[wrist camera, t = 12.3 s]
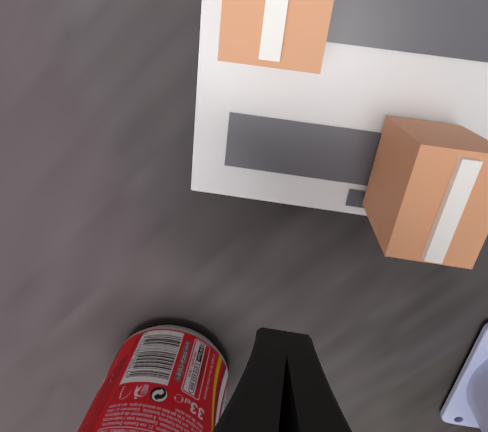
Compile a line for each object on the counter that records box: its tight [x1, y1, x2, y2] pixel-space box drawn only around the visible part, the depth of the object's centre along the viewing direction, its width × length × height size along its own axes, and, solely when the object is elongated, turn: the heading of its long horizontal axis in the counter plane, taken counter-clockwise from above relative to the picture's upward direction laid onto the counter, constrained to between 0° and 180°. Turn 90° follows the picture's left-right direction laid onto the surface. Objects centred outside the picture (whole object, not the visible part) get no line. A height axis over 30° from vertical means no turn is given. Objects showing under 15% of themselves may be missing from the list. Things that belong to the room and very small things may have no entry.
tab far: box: [362, 116, 488, 269], centre depth 14 cm, size 3×4×5 cm
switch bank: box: [191, 0, 488, 216], centre depth 16 cm, size 13×11×1 cm
